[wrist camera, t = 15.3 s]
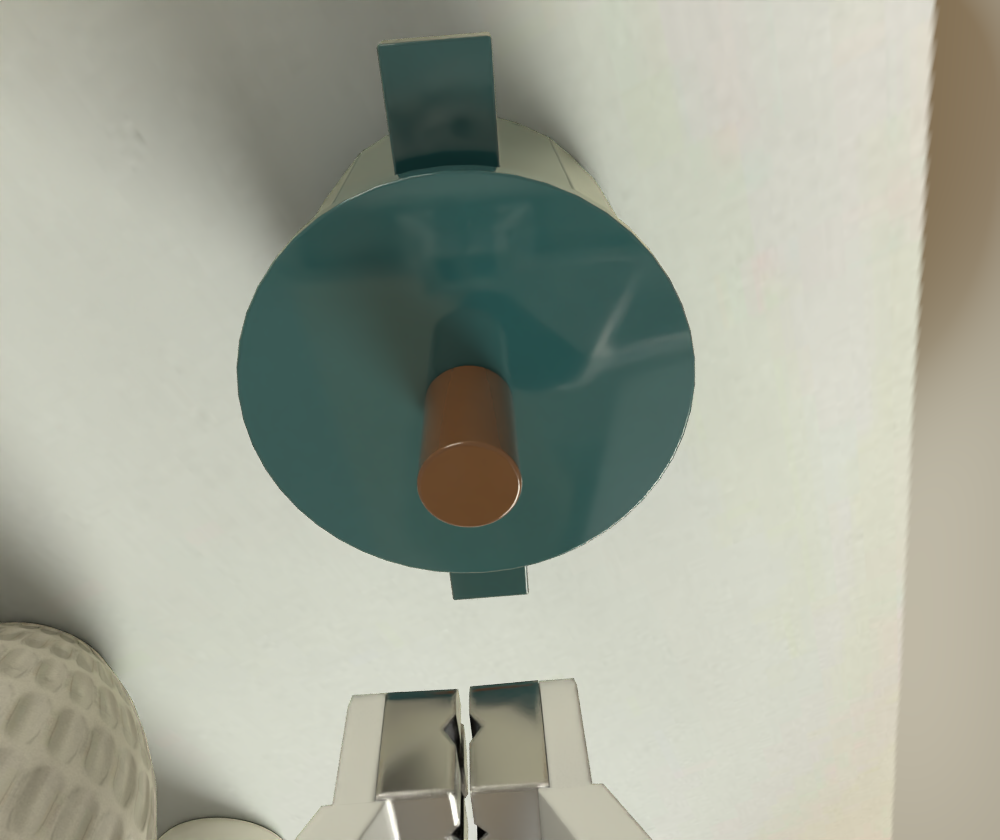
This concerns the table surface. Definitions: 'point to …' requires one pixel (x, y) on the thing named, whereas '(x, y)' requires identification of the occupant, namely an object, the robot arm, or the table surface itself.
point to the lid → (465, 369)
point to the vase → (69, 743)
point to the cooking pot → (456, 160)
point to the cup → (218, 830)
